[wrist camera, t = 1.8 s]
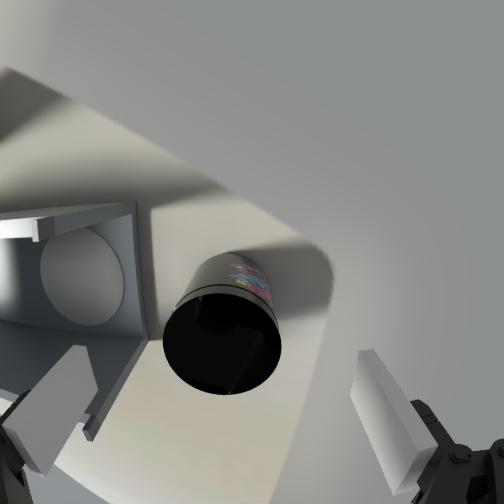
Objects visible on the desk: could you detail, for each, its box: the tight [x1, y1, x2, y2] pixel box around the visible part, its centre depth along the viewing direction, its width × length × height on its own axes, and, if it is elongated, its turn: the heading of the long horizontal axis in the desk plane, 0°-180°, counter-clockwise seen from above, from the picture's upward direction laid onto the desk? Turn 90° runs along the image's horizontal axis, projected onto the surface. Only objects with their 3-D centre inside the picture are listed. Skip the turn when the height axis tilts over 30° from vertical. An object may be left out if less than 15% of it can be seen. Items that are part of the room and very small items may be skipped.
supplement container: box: [163, 254, 281, 395], centre depth 22 cm, size 7×7×10 cm
